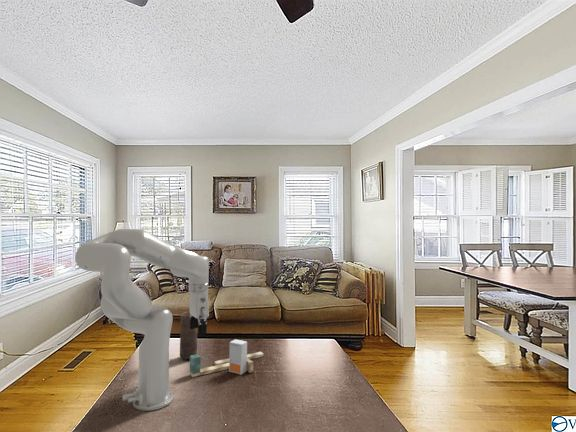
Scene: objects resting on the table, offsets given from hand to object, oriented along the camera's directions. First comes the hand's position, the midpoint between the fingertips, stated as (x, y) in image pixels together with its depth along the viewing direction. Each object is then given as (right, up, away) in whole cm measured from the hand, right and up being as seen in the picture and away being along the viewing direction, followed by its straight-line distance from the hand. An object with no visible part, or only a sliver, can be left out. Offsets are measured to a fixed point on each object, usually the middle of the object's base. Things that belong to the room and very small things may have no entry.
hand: (197, 331), depth 144 cm
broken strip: (+14, -17, +15) cm, 27 cm away
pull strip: (+9, -17, +2) cm, 19 cm away
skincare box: (+15, -17, +3) cm, 23 cm away
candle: (-8, -17, +17) cm, 25 cm away
